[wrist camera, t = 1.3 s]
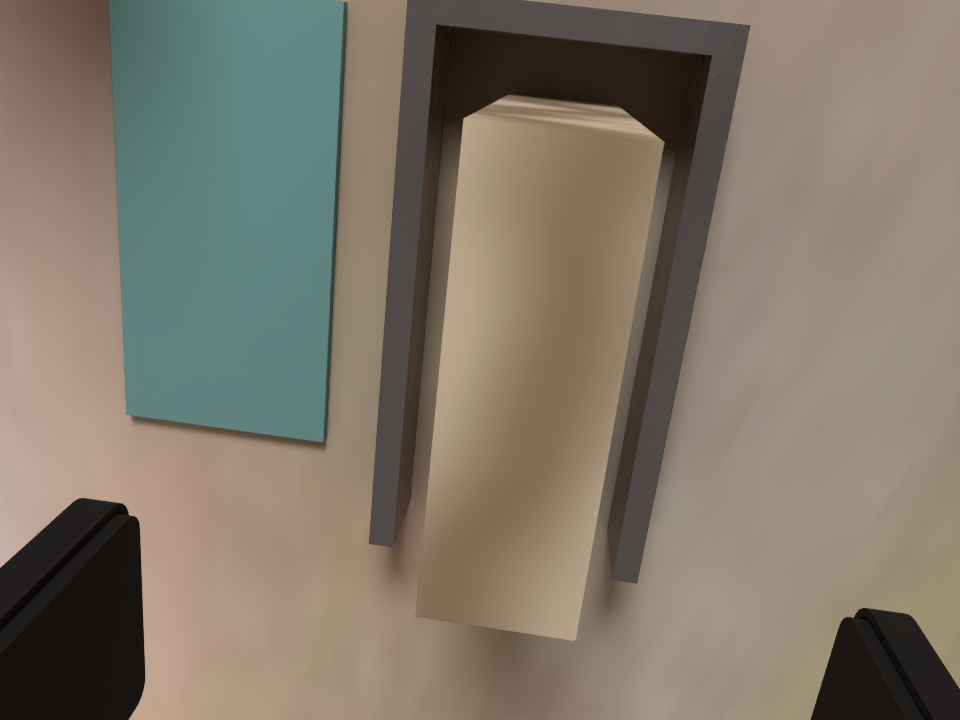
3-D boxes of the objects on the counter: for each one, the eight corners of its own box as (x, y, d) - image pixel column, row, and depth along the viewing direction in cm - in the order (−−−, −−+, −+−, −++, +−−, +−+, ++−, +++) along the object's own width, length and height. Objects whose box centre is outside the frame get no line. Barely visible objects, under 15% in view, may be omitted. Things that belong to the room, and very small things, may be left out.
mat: (347, 3, 31) (343, 1, 31) (326, 437, 37) (323, 442, 37) (114, -23, 32) (107, -25, 31) (131, 410, 38) (126, 414, 37)
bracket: (727, 30, 30) (750, 25, 26) (629, 531, 37) (637, 583, 34) (427, -3, 31) (408, -13, 27) (388, 496, 38) (369, 543, 34)
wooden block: (617, 104, 31) (664, 141, 16) (571, 397, 36) (575, 640, 20) (511, 92, 32) (463, 118, 17) (478, 384, 36) (415, 616, 21)
